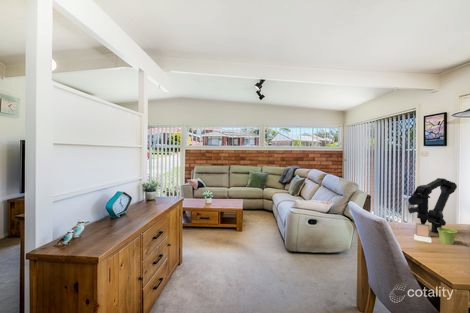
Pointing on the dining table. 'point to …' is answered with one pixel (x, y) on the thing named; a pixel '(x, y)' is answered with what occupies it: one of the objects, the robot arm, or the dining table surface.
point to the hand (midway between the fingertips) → (422, 226)
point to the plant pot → (446, 235)
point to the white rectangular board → (422, 238)
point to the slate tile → (422, 230)
